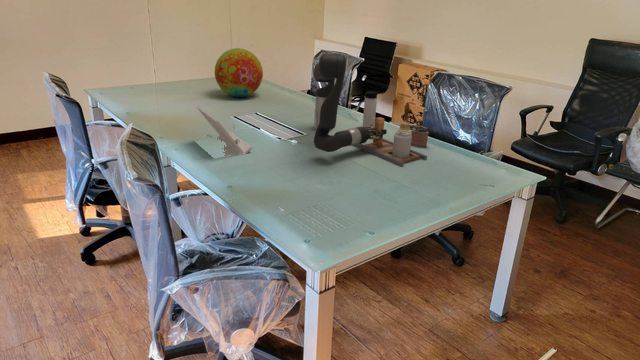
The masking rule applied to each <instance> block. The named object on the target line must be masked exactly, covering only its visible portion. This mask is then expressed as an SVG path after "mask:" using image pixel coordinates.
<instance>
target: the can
mask: <svg viewBox="0 0 640 360" xmlns="http://www.w3.org/2000/svg"><path fill="white" fill-rule="evenodd" d="M411 139H412V136H411V133H410V132H409V131H405V130H399V129H398V130H396V131H395V133H394V135H393V152H392V156H395V157H397V158H399V159H404V158H408V157H410V156H409V155H410V149H411V147H412V146H411Z"/></svg>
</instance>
